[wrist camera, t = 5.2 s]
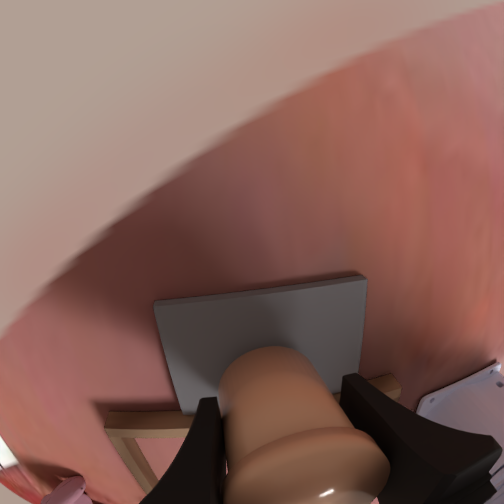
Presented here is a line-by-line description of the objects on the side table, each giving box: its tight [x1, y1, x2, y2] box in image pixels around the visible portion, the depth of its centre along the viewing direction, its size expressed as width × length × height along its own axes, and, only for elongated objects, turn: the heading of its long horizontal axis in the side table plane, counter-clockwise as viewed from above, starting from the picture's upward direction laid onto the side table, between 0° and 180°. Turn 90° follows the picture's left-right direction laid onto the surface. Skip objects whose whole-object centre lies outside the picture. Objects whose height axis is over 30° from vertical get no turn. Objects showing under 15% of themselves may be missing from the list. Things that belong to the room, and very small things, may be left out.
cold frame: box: [104, 374, 402, 504], centre depth 17 cm, size 18×15×3 cm
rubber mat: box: [153, 275, 368, 415], centre depth 15 cm, size 10×7×1 cm
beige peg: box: [218, 346, 391, 504], centre depth 10 cm, size 5×5×7 cm
